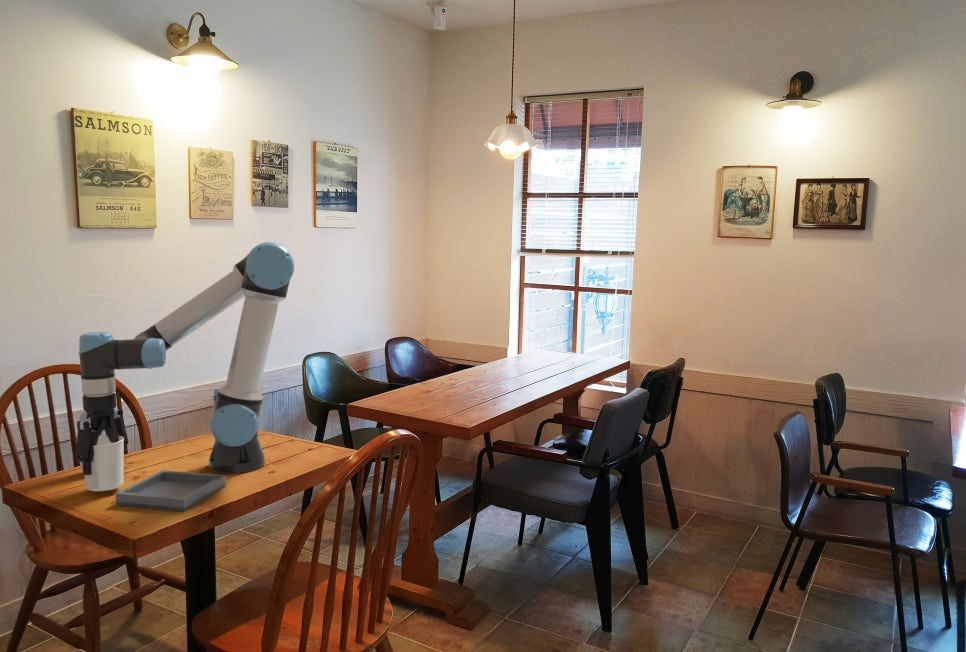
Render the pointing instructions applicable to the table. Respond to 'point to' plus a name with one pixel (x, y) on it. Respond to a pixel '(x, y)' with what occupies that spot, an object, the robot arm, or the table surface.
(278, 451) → the table surface
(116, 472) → the candle holder
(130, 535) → the table surface
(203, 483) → the tray
